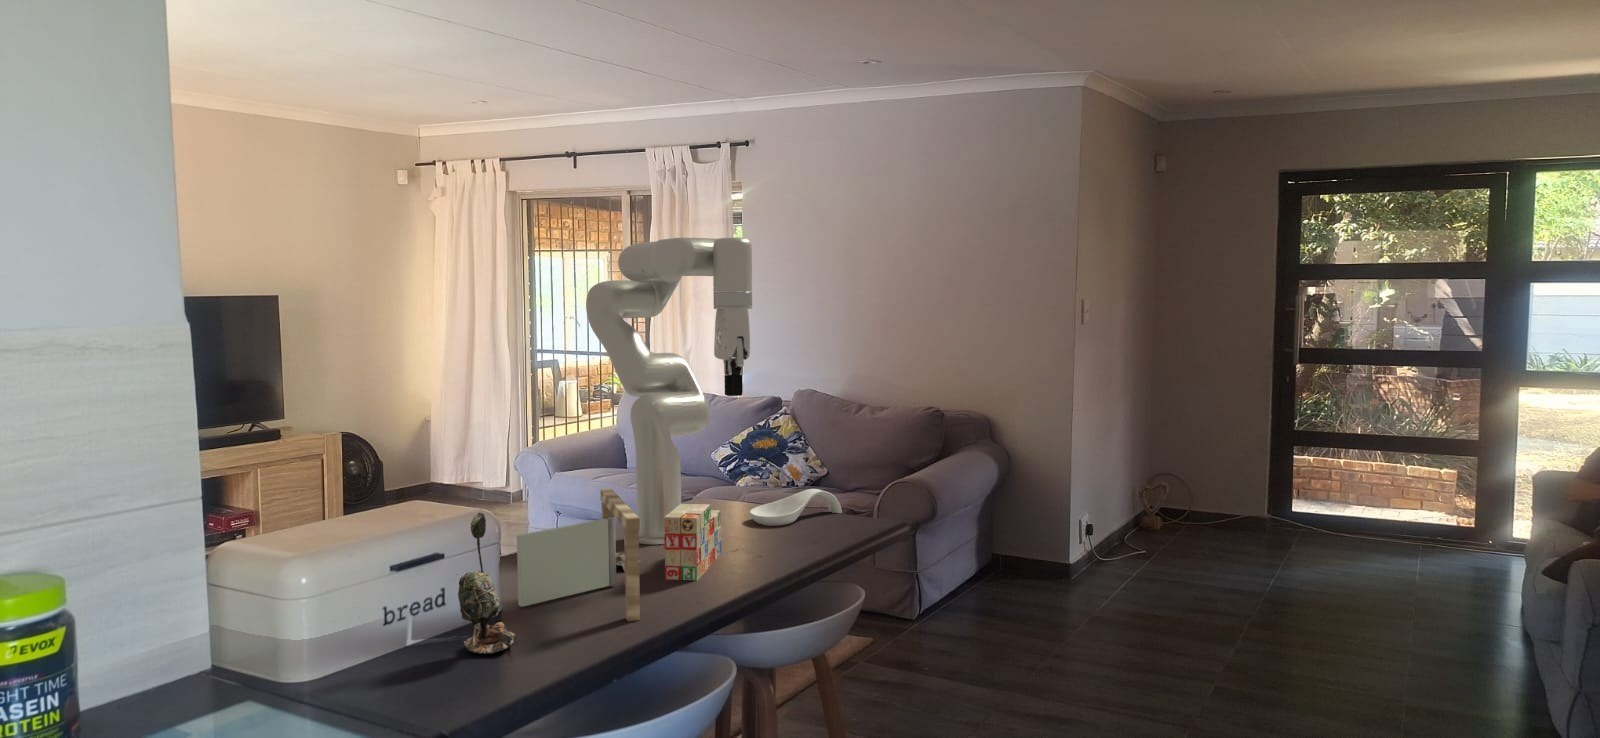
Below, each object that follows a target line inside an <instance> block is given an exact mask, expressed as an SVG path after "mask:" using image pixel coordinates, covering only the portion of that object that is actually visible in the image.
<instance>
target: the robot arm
mask: <svg viewBox="0 0 1600 738" xmlns="http://www.w3.org/2000/svg"><path fill="white" fill-rule="evenodd" d="M752 250H753V249H752V243H751V240H749V239H748V238H745V237H721V238H710V237H709V238H707V237H673V238H664V239H658V240H655V241H646V242H638V243H633V244H630V245H628V246H627V247H625V248H624V249H623V250H622V251H621V252H620V254H619V256H618V260H617V265H618V270H619V271H620V273H621V274H622V276H623V277H625V278H626V280H624V279H623V280H621V279H620V280H619V279H618V280H617V279H616V280H614V279H613V280H604V281H601V282H599V283H596V284H594V285H593V286H591V287H590V289H589V290H588V292H587V295H586V301H585V302H586V303H585V309H586V316H587V319H588V323H589V325H590V328H591V330H592V331H593V333H594V334H595V336H596V338H597V339H598V341H599V342H600V344H602V346H603V348H604V349H605V351H606V353H607V355H608V357H609V361H610V362H611V364H612V366H613V369H614V371H615V373H616V376H617V378H618V380H619V381H620V384H621V386H622V388H623V390H624V391H625V393H627V394H628V395H629V396H631V397H636V398H637V399H636V400H635V401H634V402H633V403H632V406H631V408H630V415H629V416H630V424H631V428H632V432H633V433H632V434H633V437H634V438H633V439H634V446H635V447H634V448H635V471H636V472H635V473H636V474H635V475H636V479H635V480H636V484H635V486H636V515H637V516H638V517H639V518H640V530H639V545H652V546H653V545H659V544H660V545H664V534H665V531H664V517H665V516H666V515H667V514H669V513H670V512H672V511H673V510H674V509H675V508H676V507H677V506H679V505H680V504H682V478H681V477H682V476H681V474H682V472H681V470H682V469H681V467H682V466H681V455H680V453H679V452H680V451H679V450H678V448H677V447H676V445H675V444H674V442H673V440H672V437H676V436H677V437H678V436H683V435H686V436H687V435H694V434H698V433H700V432H703V431H704V430H705V429H706V428H707V426H708V424H709V422H710V416H711V415H710V414H711V413H710V407H709V404H708V401H707V399H706V396H705V394H704V392H703V390H702V389H701V386H700V384H699V382H698V380H697V377H695V374H694V372H693V370H692V369H691V367H690V364H689V363H688V361H687V360H686V359H685V358H684V357H683V356H682V355H680V354H678V353H674V352H652V351H650V349H649V348H648V346H647V345H646V342H645V340H644V338H643V336H642V335H641V333H639V332H638V330H637V329H635V327H633V326H632V325H631V324H630V323H628V322H627V321H625V320H624V319H643V318H644V319H648V318H649V319H650V318H653V317H654V318H655V317H656V316H658V315H659V314H661V313H662V312H663V310H664V309H665V307H666V306H667V304H668V302H669V300H670V299H671V297H672V295H673V293H674V292H675V290H676V289H677V287H678V285H679V282H680V281H681V279H682V277H713V278H712V279H713V282H712V283H713V288H712V289H713V290H712V291H713V310H716V312H715V321H714V339H713V340H714V344H713V348H714V349H713V354H714V357H715V358H717V359H719V360H722V361H723V362H722V363H723V370H724V395H725V396H727V397H736V396H737V397H738V396H739V397H740V396H743V394H744V393H743V391H744V389H743V374H744V373H743V372H744V370H743V369H744V365H745V363H744V362H745V361H746V360H747V359H749V357H750V355H751V351H750V350H751V336H750V335H751V333H750V332H751V331H750V329H751V328H750V316H749V310H753V260H752V259H753V251H752ZM744 360H745V361H744Z"/></svg>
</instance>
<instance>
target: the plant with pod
mask: <svg viewBox="0 0 1600 738" xmlns="http://www.w3.org/2000/svg"><path fill="white" fill-rule="evenodd" d="M486 522H487V520H486V517H485V513H483V512H477V513H476V515H475V516H474V517H473V518H472V520H471V522H470V533H471V536H473V538H474V539H476V545H477V552H478V553H477V554H478V560H479V566H480V570H475V571H468V572H466V573H464V574H463V575H461V577H460V578H459V581H458V593H457V595H458V602H459V609H460V613H461V618H462V619H463V620H464V621H469V622H471V625H472V628H471V632H470V633H471V637H469V638H467V639H465V640H463V643H464V645H463V646H464V647H465V649H466V650H467V651H469V652H471V653H472V652H473V653H476V654H482V653H483V654H494V653H496V652H497V653H498V652H499V651H504V650H506V649H507V648H509V647H510V646H511V645H512V644H513V643H515V641H514V639H515V637H516V634H515V633H514V631H512V630H508V629H507V627H506V625H505V624H504V622H502V621H501V622H500V621H499V622H496V623H494V625H491V620H492V619H493V618H495V617H497V616H498V615H499V610H500V604H499V595H498V594H497V591H496V588H495V585H494V582H493V580H492V578H491V577H490V575H489V574H488V573H487V572H485V571H484V569H483V562H482V554H481V543H480V542H481V541H480V539H481V538H483V537H484V536H485V534H486V531H487V530H486V526H487V525H486V524H487V523H486ZM456 575H457V576H459V574H458V573H457V574H456Z"/></svg>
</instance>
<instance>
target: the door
mask: <svg viewBox="0 0 1600 738" xmlns="http://www.w3.org/2000/svg"><path fill="white" fill-rule="evenodd" d="M616 538H617V537H616V517H614V518H606V519H602V518H601V519H597V520H596V519H595V520H591V521H587V522H580V523H575V524H569V525H566V526H565V525H564V526H558V527H553V528H547V529H543V530H538V531H533V532H527V533H521V534H516V556H517V557H516V558H517V560H516V561H517V563H516V564H517V565H516V566H517V597H518V598H517V601H518V603H517V604H518V606H520V607H527V606H531V605H535V604H539V603H543V602H547V601H550V600H556V599H559V598H563V597H567V596H571V595H572V596H573V595H577V594H580V593H584V592H587V591H588V592H589V591H592V590H596V589H600V588H605V587H608V586H609V587H610V586H614V585H617V565H616V553H617V551H616V545H617V544H616V542H617V541H616Z"/></svg>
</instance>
